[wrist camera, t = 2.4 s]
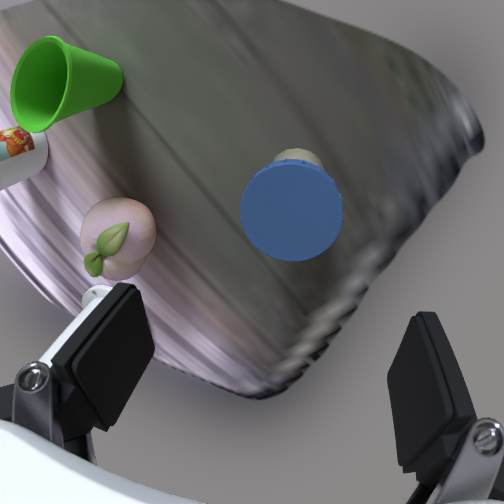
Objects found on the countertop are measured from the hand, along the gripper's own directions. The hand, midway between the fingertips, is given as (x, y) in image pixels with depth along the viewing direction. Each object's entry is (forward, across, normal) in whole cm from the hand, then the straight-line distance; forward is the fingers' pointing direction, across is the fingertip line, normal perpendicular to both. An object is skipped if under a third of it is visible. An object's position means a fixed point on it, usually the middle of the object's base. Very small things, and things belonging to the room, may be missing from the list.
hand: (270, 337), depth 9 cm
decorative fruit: (+22, +18, +6) cm, 29 cm away
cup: (+22, +21, -11) cm, 33 cm away
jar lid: (+11, 0, 0) cm, 11 cm away
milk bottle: (+22, +36, -5) cm, 43 cm away
